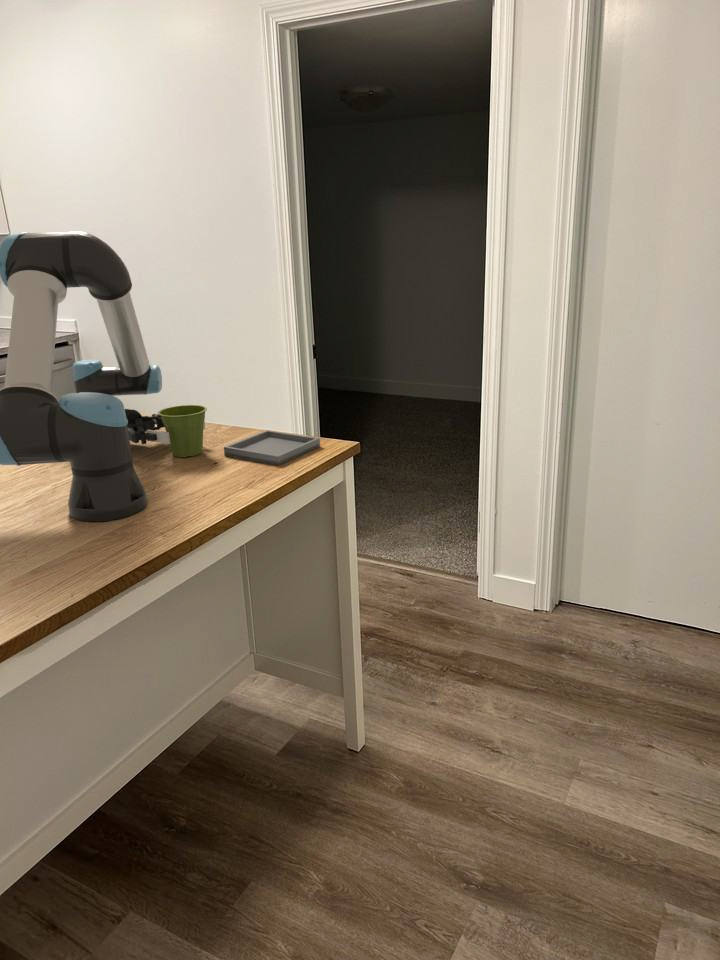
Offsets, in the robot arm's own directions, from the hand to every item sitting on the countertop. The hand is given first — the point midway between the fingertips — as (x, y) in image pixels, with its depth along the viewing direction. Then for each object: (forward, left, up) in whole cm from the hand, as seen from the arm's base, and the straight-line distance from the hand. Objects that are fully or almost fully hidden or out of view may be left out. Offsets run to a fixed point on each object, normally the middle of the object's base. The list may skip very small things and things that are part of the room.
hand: (187, 430), depth 179 cm
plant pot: (0, +1, -6) cm, 6 cm away
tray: (-10, -18, -6) cm, 22 cm away
